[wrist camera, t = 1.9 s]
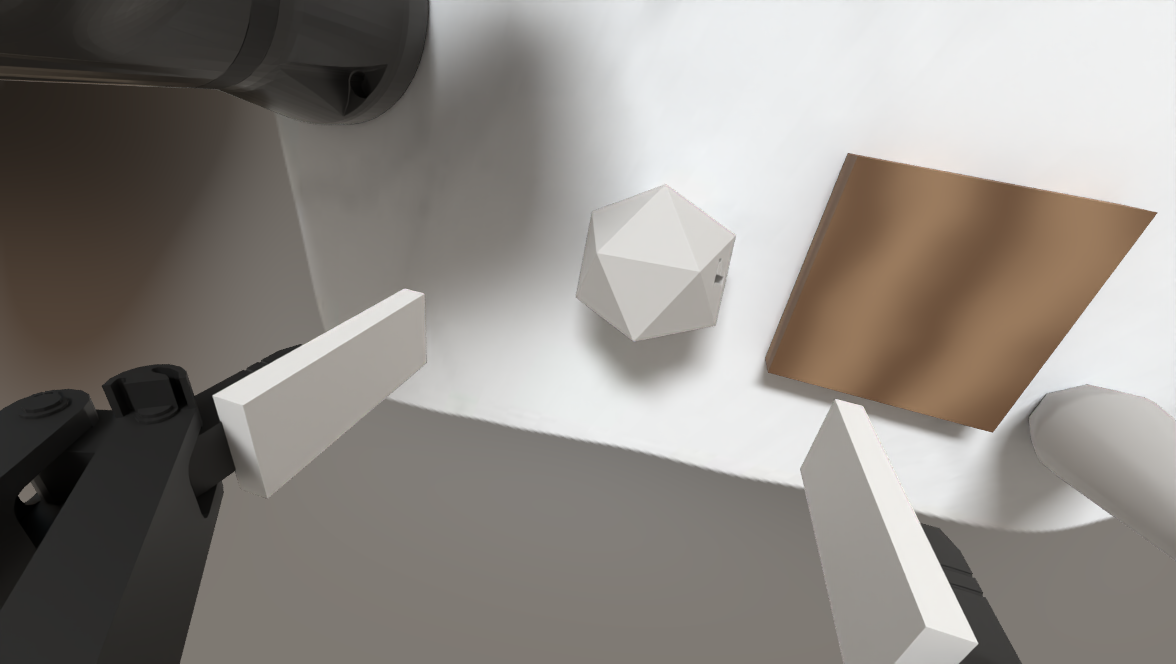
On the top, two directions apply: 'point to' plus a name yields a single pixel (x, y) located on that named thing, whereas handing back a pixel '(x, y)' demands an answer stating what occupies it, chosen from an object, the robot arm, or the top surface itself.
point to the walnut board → (944, 287)
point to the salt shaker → (1113, 455)
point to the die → (655, 265)
